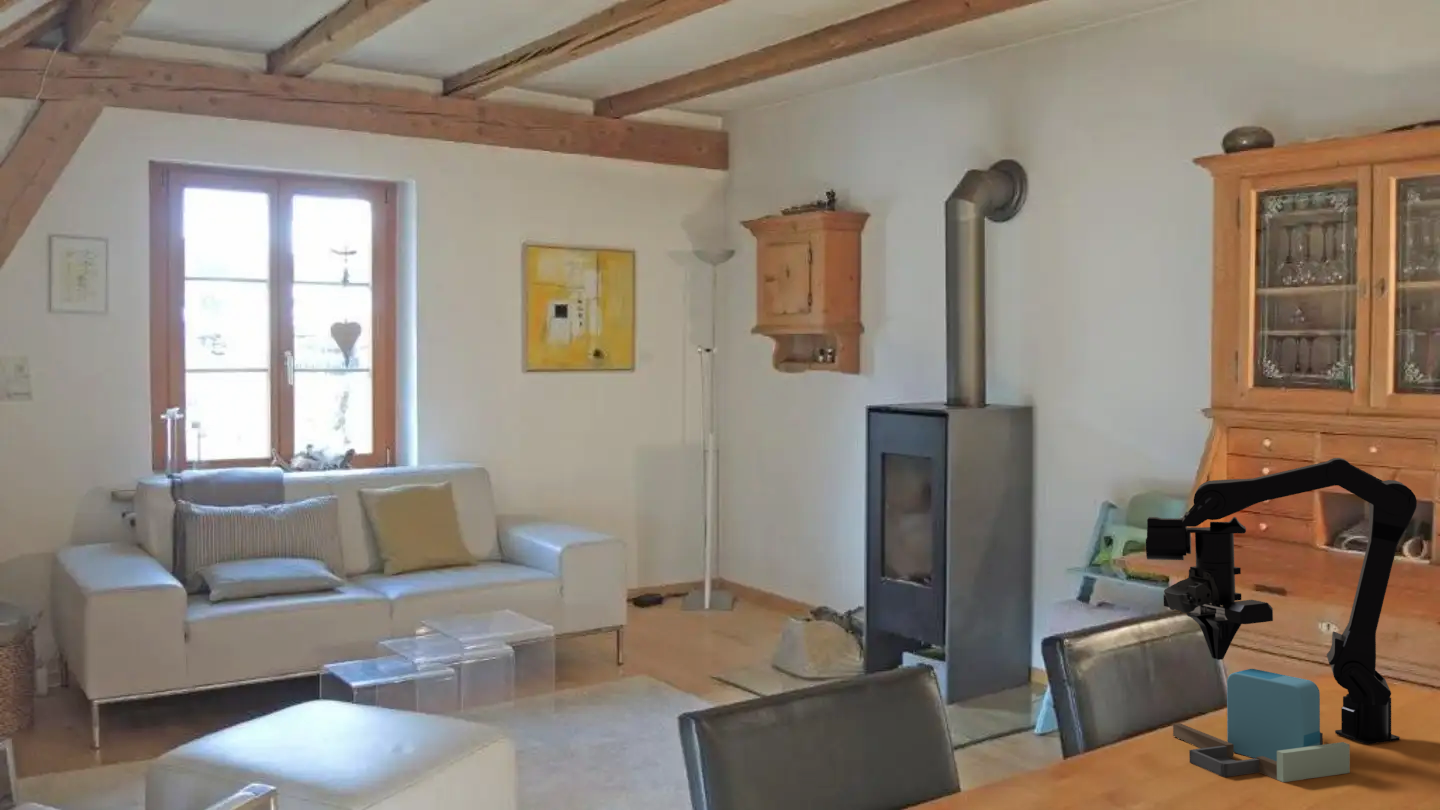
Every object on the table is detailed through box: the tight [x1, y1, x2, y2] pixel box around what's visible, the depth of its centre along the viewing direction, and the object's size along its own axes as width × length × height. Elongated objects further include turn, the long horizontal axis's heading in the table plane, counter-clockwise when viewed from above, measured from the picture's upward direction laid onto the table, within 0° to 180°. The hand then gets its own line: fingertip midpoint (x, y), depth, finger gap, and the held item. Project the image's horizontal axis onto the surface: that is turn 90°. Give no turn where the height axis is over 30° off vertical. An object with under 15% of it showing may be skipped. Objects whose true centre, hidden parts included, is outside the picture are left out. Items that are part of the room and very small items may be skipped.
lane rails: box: [1172, 722, 1277, 780], centre depth 187 cm, size 11×22×2 cm, turn 18°
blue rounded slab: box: [1226, 668, 1321, 761], centre depth 184 cm, size 12×4×12 cm, turn 34°
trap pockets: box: [1188, 731, 1324, 778], centre depth 187 cm, size 24×14×2 cm, turn 108°
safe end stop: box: [1276, 741, 1351, 783], centre depth 176 cm, size 11×1×4 cm, turn 108°
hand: (1217, 658), depth 201 cm, fingers closed
